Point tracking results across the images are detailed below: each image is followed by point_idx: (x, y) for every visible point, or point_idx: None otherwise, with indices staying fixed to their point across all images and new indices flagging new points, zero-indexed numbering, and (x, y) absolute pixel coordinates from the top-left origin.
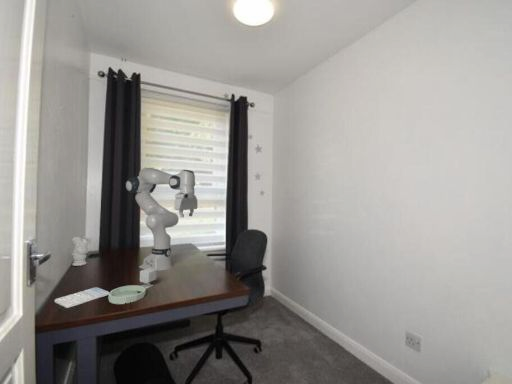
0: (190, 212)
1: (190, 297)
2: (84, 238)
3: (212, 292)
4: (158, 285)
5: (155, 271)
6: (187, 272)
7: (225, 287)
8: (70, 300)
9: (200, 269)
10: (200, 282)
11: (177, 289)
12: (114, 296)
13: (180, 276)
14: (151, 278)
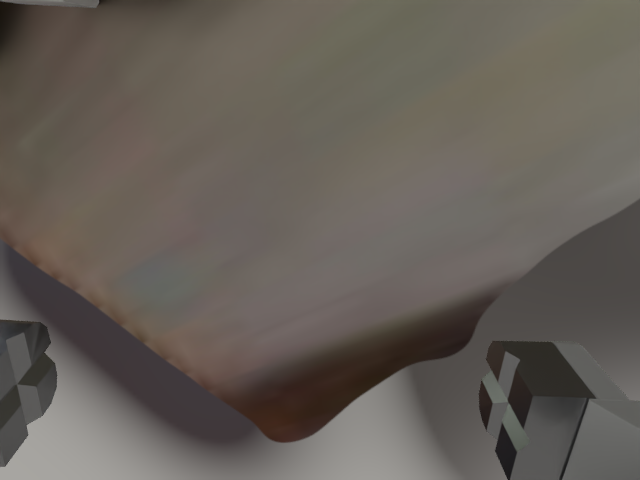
0: (629, 452)
1: (91, 283)
2: None
3: (190, 342)
4: (135, 18)
5: (58, 2)
6: (437, 49)
7: (272, 369)
8: None
9: (530, 104)
10: (287, 231)
11: (140, 170)
12: None
13: (340, 52)
14: (38, 4)
